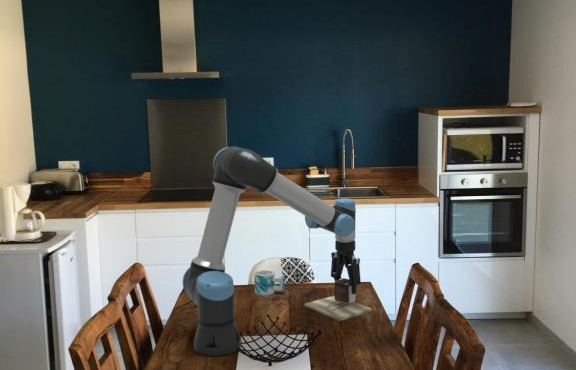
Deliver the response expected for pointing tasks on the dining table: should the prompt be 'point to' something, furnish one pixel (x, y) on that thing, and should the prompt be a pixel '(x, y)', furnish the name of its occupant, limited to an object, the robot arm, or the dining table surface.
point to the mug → (267, 282)
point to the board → (337, 308)
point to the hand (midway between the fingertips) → (345, 298)
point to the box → (342, 290)
